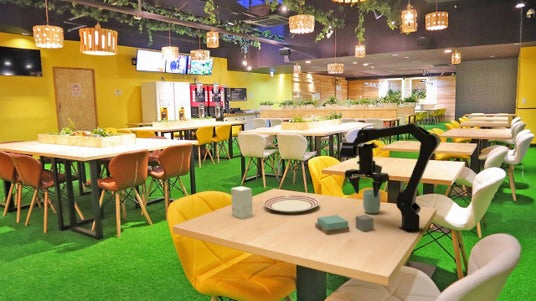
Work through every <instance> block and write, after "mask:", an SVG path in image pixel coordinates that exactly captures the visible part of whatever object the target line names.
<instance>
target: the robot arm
mask: <svg viewBox="0 0 536 301" xmlns="http://www.w3.org/2000/svg"><path fill="white" fill-rule="evenodd" d="M407 134H409V135H411V136H412V137H413V138H414V139H415V140H416V141H418V142H419V143H420V145H419V154H418V157H417V160H416V162H415V165H414V168H413V170H412V171H411V175H410V177H409V180H408V181H407V184H406V187H405V188H401V189H400V190H399V191H398V195H397V197H396V199H395V202H396V203H395V206H396V207H397V210H399V211H400V214H401V226H398V229H400V230H402V231H405V232H407V233H415V232H421V231H423V228H420V217H421V216H420V215H419V213H420V212H421V209H422V208H421V206H420V205H419V204H418V203H417V202H416V199H417V192H418V188H419V186H420V183H421V180H422V179H423V176H424V174H425V171H426V170H427V169H426V168H427V166H428V164H429V161H430V159H431V157H432V156H433V154H435V152H436V151H437V149H438V147H439V146H440V144H441V137H440V135H438V134H437V133H434V132H430V131H428V130H427V129H425V128H423V127H422V126H420V125H418V124H417V123H415V122H410V123H406V124H400V125H395V126H389V127H382V128H377V127H366V128H362V129H359V130H358V131H357V133H356V138H355V139H354V140H353V141H351V142H350V141H349V142H348V141H343V142H341V143H342V144H341V147H340V149H339V150H340V151H339V153H340V154H339V155H340V157H341V158H343V159H356V158H357V157H358V160H357V161H356V164H357V165H358V169H355V168H351V169H347V170H345V172H344V177H345V178H346V179H347V180H348V181H349V184H351V186H352V187H353V188H352V189H353V190H354V192H355V194H356V195H359V193H360V179H361V178H368V179H372V180H373V181H372V182H371V183H372V190H373V192H374V197H377V195H378V192H379V191H380V189H381V187H382V185H383V184H384V183H386V182H387V181H390V175H389V173H386V172H382V169H383V166H382V165H379V164H377V163H376V161H375V160H374V149H378V148H379V145H378V144H376V142H375V140H378V139H381V138H387V137H388V138H389V137H394V136H400V135H407ZM372 141H373V142H372ZM370 142H371V143H370Z"/></svg>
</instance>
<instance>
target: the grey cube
mask: <svg viewBox="0 0 536 301" xmlns="http://www.w3.org/2000/svg"><path fill="white" fill-rule="evenodd" d="M355 229H356V230H359V231H361V232H362V233H364V232H370V231H374V217H372V216H370V215H367V214H362V215H356V216H355Z"/></svg>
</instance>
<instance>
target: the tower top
mask: <svg viewBox="0 0 536 301" xmlns="http://www.w3.org/2000/svg"><path fill="white" fill-rule="evenodd" d="M316 220H317V222H316V223H317V224H319V225H321V226H322V227H324V228H325V229H327V230H333V229H340V228H346V227H349V220H347V219H345V218H344V217H341V216H339V215H337V214H335V215H328V216H319V217H317V219H316Z"/></svg>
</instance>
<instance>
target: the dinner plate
mask: <svg viewBox="0 0 536 301" xmlns="http://www.w3.org/2000/svg"><path fill="white" fill-rule="evenodd" d="M319 205H320V200H318V199H317V198H315V197H313V196H309V195H301V194H285V195H277V196H273V197H272V196H271V197H270V198H267V199H265V200H264V201H263V206H264V207H265V208H268V209H270V210H272V211H276V212H279V213H283V214H284V213H286V214H289V213H290V214H292V213H293V214H294V213H296V214H297V213H303V212H306V211H310V210H312V209H314V208H316V207H318V206H319Z"/></svg>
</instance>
